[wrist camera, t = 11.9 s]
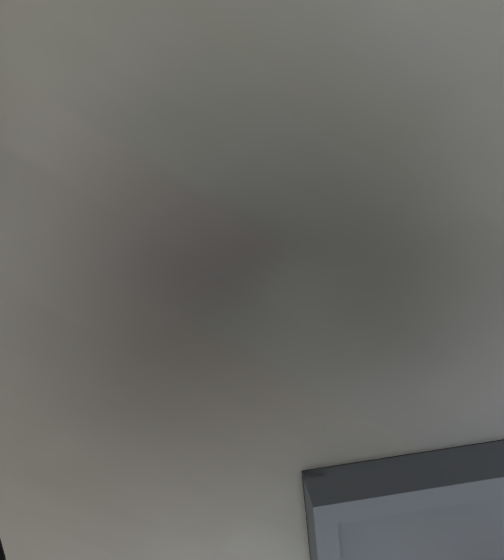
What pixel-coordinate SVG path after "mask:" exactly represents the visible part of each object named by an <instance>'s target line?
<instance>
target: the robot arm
mask: <svg viewBox="0 0 504 560" xmlns="http://www.w3.org/2000/svg"><path fill="white" fill-rule="evenodd" d="M0 560H6V559H5V554H4V551H3V547H2V543H1V540H0Z"/></svg>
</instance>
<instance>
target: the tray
mask: <svg viewBox="0 0 504 560" xmlns="http://www.w3.org/2000/svg"><path fill="white" fill-rule="evenodd" d="M302 479H303V489H304V500H305V510H306V520H307V530H308V540H309V550H310V560H504V440H501V441H494V442H488V443H481V444H475V445H469V446H462V447H456V448H449V449H443V450H436V451H430V452H423V453H417V454H410V455H404V456H398V457H391V458H385V459H378V460H372V461H365V462H359V463H352V464H346V465H339V466H333V467H327V468H320V469H314V470H307V471H302Z"/></svg>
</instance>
